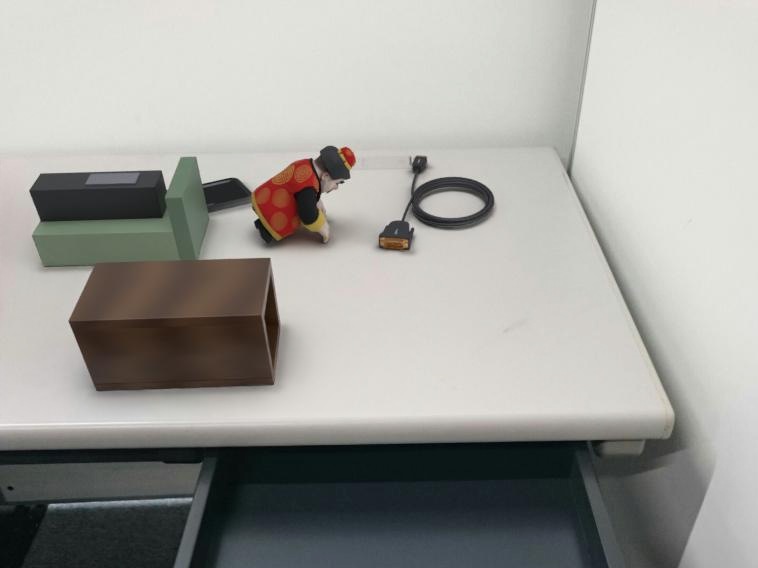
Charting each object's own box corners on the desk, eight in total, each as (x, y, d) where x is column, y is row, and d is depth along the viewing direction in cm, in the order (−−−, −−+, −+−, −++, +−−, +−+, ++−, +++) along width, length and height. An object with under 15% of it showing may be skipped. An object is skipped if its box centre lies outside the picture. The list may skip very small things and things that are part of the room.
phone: (134, 198, 101) (235, 176, 106) (136, 207, 102) (237, 183, 107) (150, 221, 97) (255, 196, 102) (152, 229, 98) (256, 204, 102)
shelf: (96, 390, 74) (67, 321, 68) (119, 330, 81) (95, 262, 75) (273, 384, 74) (261, 314, 68) (280, 325, 81) (270, 257, 75)
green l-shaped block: (43, 266, 90) (17, 201, 84) (68, 222, 98) (46, 160, 92) (196, 262, 91) (181, 197, 85) (209, 218, 99) (196, 156, 93)
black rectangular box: (40, 221, 90) (28, 189, 87) (51, 204, 93) (39, 171, 90) (162, 218, 90) (154, 185, 87) (169, 200, 93) (161, 168, 90)
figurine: (290, 278, 96) (387, 215, 92) (244, 222, 88) (347, 151, 84) (283, 238, 101) (373, 177, 97) (239, 182, 94) (335, 114, 90)
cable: (503, 167, 109) (504, 156, 108) (482, 258, 91) (483, 246, 90) (415, 161, 111) (415, 150, 110) (377, 249, 93) (376, 238, 92)
